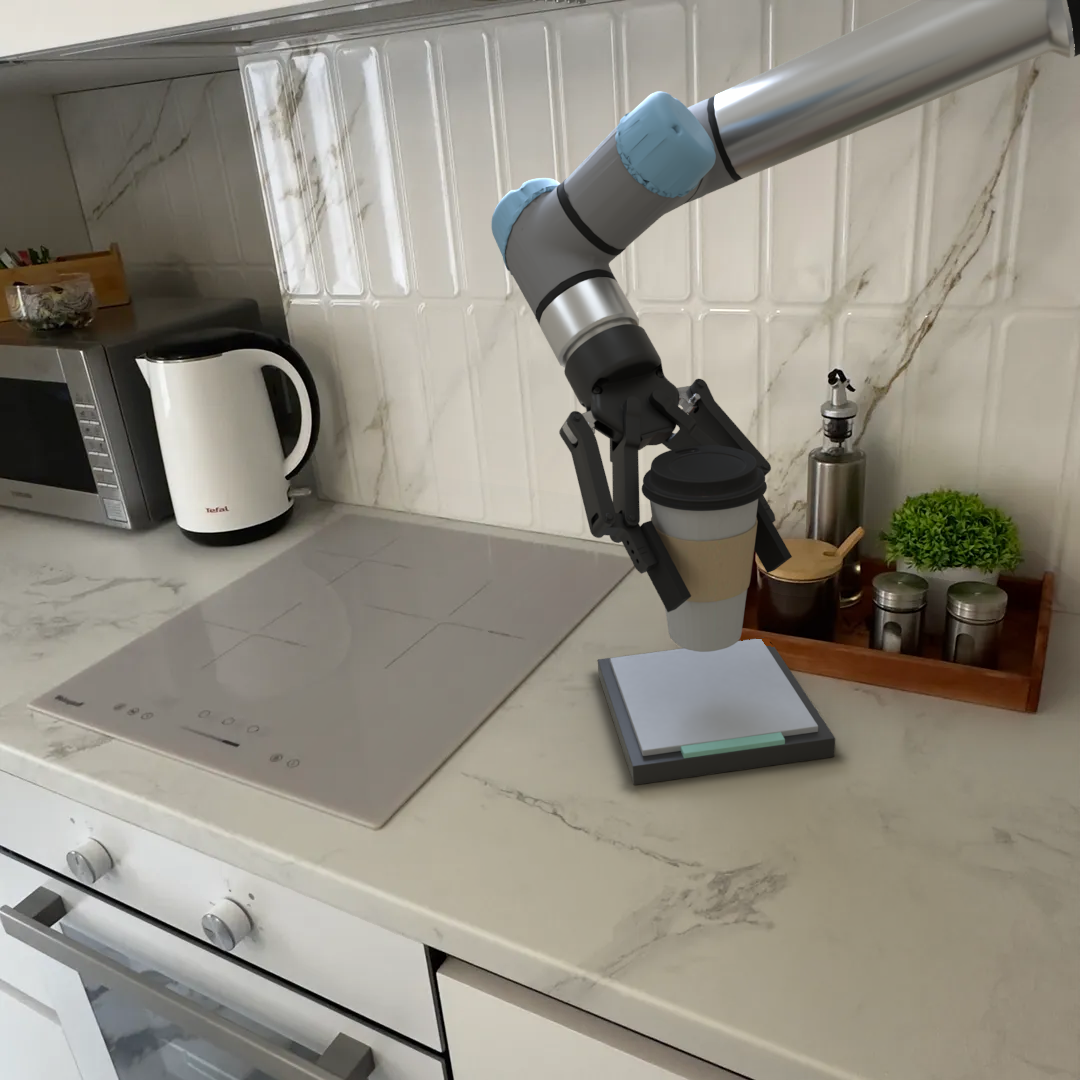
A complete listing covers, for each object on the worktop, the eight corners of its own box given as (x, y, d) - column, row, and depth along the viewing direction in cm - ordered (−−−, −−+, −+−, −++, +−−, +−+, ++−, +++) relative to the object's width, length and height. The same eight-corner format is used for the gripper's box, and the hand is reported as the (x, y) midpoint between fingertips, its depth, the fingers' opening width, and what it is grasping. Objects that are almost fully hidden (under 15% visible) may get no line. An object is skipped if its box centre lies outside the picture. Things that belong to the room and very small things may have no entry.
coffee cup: (694, 596, 86) (691, 434, 80) (787, 628, 80) (792, 456, 73) (623, 639, 80) (615, 468, 74) (717, 678, 74) (717, 495, 68)
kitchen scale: (767, 653, 91) (768, 631, 90) (834, 756, 76) (835, 731, 75) (598, 675, 90) (597, 653, 89) (633, 785, 75) (632, 760, 74)
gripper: (685, 349, 89) (808, 562, 83) (473, 400, 79) (595, 647, 73) (724, 297, 83) (860, 524, 77) (499, 346, 73) (634, 611, 67)
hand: (731, 584), depth 75 cm, fingers closed on coffee cup, 9 cm apart
